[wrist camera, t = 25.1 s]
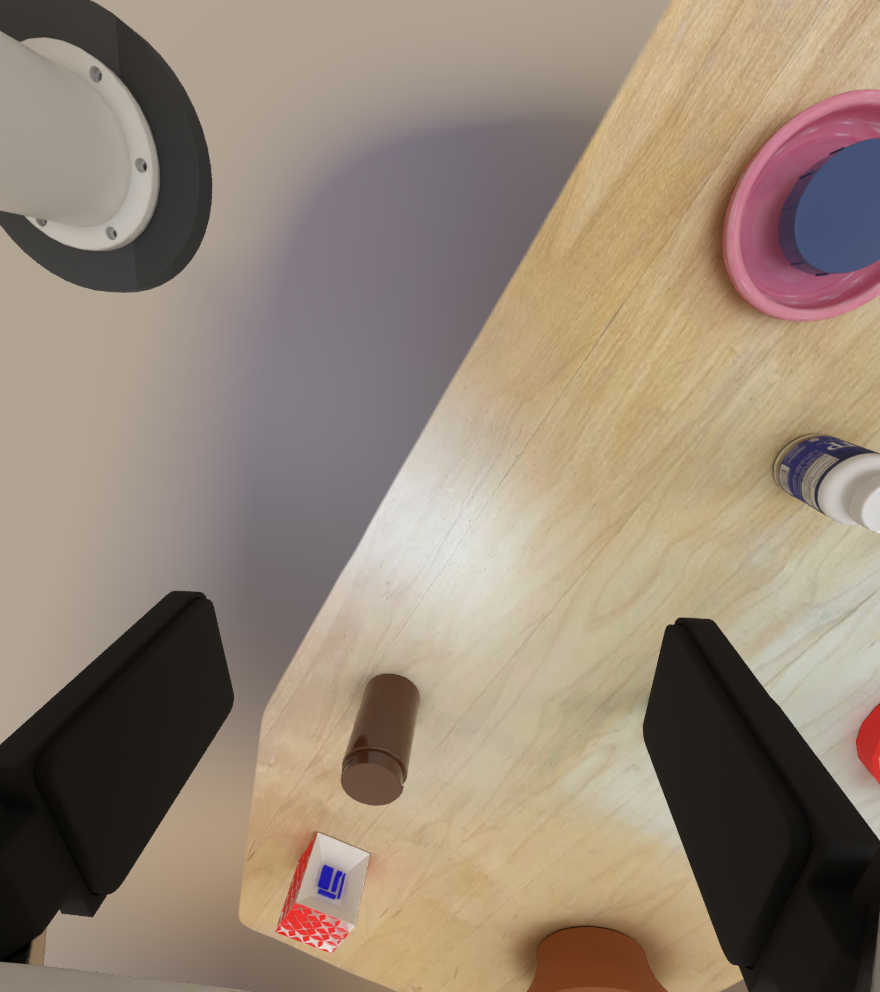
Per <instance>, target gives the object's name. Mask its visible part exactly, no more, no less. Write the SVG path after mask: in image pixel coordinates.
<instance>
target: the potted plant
mask: <svg viewBox="0 0 880 992" xmlns="http://www.w3.org/2000/svg"><path fill="white" fill-rule="evenodd" d="M527 992H667V990H666V989H665V988H664V987H663V986H662V985H661V984H660V983H659V982H658V981H657V979H656V978H655V977H654V975H653V973H652V971H651V969H650V966H649V964H648V961H647V958H646V955H645V952H644V950H643V949H642V947H641V946H640V945H639V944H638V943H637V942H636V941H634V940H633V939H631V938H629V937H628V936H626V935H624V934H622V933H619V932H616V931H613V930H609V929H605V928H599V927H574V928H568V929H564V930H561V931H558V932H556V933H553V934H552V935H550V936H548V937H547V938H546V939H544V940H543V941H542V942H541V944H540V945H539V947H538V950H537V969H536V976H535V978H534V980H533V982H532V984H531V985H530V987H529V989H528V991H527Z"/></svg>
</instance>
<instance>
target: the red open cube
mask: <svg viewBox="0 0 880 992" xmlns="http://www.w3.org/2000/svg"><path fill="white" fill-rule="evenodd" d="M369 859H370V853H368V852H365V851H363V850H361V849H358V848H356V847H353V846H351V845H348V844H346V843H343V842H341V841H338V840H336V839H334V838H331V837H329V836H326V835H324V834H321V833H319V832H318V833H317V834H316V836H315V837H314V839H313V840H312V842H311V843H310V845H309V846H308V848H307V849H306V851H305V852H304V854H303V855H302V857H301V858H300V860H299V861H298V864H297V867H296V870H295V873H294V876H293V879H292V882H291V885H290V888H289V891H288V894H287V897H286V900H285V903H284V906H283V909H282V912H281V915H280V918H279V921H278V924H277V927H276V930H275V932H277V933H279V934H282V935H284V936H287V937H290V938H292V939H295V940H297V941H300V942H303V943H306V944H308V945H311V946H313V947H316V948H319V949H321V950H324V951H326V952H329V953H333V952H334V951H335V949H336V948H337V947H338V946H339V945H340V943H341V942H342V941H343V940H344V939H345V938H346V936H347V935H348V934H349V933H350V932H351V930H352V929H353V928H354V927H355V926H356V922H357V917H358V912H359V906H360V902H361V897H362V892H363V888H364V883H365V878H366V873H367V868H368V863H369Z"/></svg>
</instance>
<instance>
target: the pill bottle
mask: <svg viewBox="0 0 880 992" xmlns="http://www.w3.org/2000/svg"><path fill="white" fill-rule="evenodd" d="M774 478H775V481H776V483H777V484H778V486H779V487H780V488H781V489H783V490H784V491H785V492H787V493H789V494H790V495H792V496H794V497H796V498H797V499H799V500H801V501H803V502H804V503H806V504H808V505H809V506H811V507H813V508H814V509H816V510H817V511H819V512H821V513H823V514H824V515H826V516H827V517H829V518H831V519H832V520H834V521H836V522H839V523H842V524H846V525H861V526H863V527H865V528H867V529H869V530H871V531H873V532H875V533H880V453H877V452H874V451H871V450H868V449H865V448H863V447H860V446H857V445H854V444H851V443H849V442H846V441H843V440H840V439H838V438H835V437H832V436H829V435H824V434H812V435H807V436H803V437H801V438H798V439H796V440H794V441H793V442H791V443H790V444H788V445H787V446H786V447H785V448H784V449H783V450H782V451H781V453H780V454H779V455H778V457H777V459H776V461H775V465H774Z"/></svg>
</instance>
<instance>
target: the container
mask: <svg viewBox="0 0 880 992" xmlns="http://www.w3.org/2000/svg"><path fill="white" fill-rule="evenodd" d="M856 743H857V750H858V757H859V759H860V760H861V761H862V763H863V764H864V765H865V767H866V768H867V769H868V771H869V772H870V773H871V774H872V775H873V777H874V778H875V779H876V780H877V781H878V783H879V784H880V704H879V705H878V706H877V707H876V708H875V709H874V710H873V711H872V713H871V714H870V715H869V716H868V717H867V719H866V720H865V721H864V722H863V723H862V726H861V729H860V732H859V735H858V737H857V740H856Z"/></svg>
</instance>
